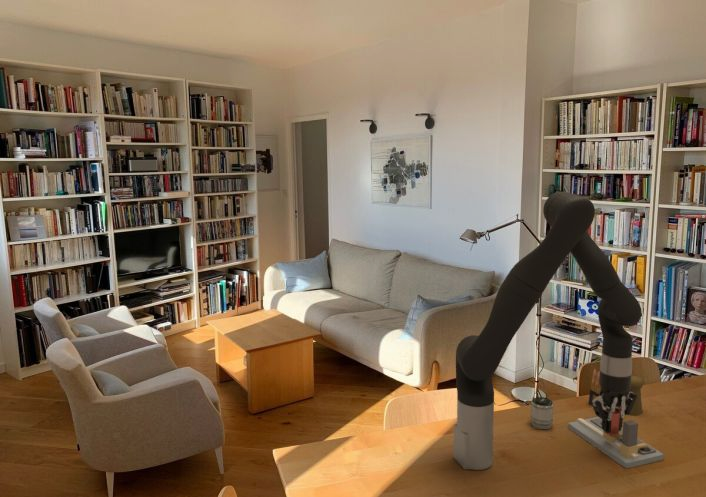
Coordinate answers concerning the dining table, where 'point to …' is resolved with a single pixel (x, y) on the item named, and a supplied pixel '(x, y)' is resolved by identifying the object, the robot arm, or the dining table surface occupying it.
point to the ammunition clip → (595, 386)
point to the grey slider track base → (617, 442)
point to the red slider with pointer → (613, 428)
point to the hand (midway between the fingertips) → (611, 430)
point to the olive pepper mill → (636, 389)
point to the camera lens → (542, 413)
